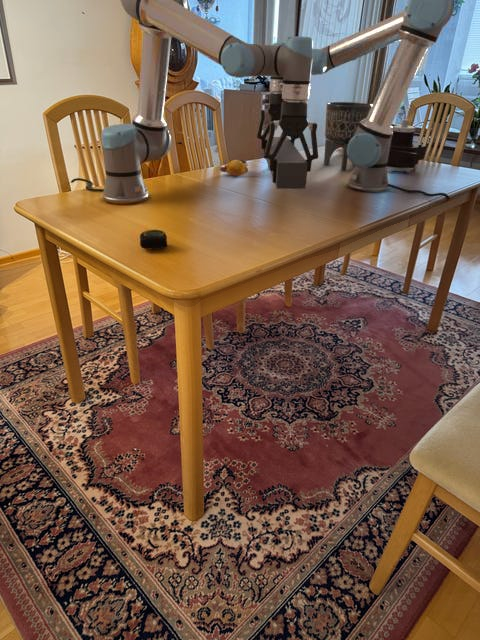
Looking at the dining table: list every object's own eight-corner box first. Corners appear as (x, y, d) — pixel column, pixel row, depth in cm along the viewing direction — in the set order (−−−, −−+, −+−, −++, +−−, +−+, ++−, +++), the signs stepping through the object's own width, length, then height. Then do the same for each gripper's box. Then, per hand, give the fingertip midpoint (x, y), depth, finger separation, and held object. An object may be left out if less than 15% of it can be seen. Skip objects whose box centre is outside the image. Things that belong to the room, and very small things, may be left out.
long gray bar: (264, 156, 180) (265, 136, 176) (286, 156, 180) (287, 137, 176) (276, 188, 135) (278, 162, 131) (305, 188, 135) (307, 162, 131)
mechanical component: (372, 119, 196) (401, 114, 216) (364, 169, 206) (392, 160, 226) (421, 124, 184) (447, 118, 203) (410, 177, 194) (436, 167, 214)
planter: (313, 167, 208) (319, 103, 195) (331, 160, 222) (338, 101, 209) (353, 173, 199) (362, 107, 185) (369, 166, 213) (379, 104, 199)
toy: (217, 168, 186) (223, 160, 199) (223, 183, 189) (228, 174, 202) (243, 159, 183) (247, 151, 195) (248, 175, 186) (252, 166, 198)
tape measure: (140, 252, 115) (139, 238, 113) (141, 242, 120) (140, 229, 119) (167, 251, 116) (166, 237, 114) (167, 241, 121) (166, 228, 120)
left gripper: (258, 101, 124) (255, 184, 136) (335, 102, 125) (325, 185, 136) (256, 99, 131) (253, 178, 142) (330, 100, 131) (321, 179, 143)
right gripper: (251, 93, 160) (250, 160, 171) (311, 93, 161) (306, 159, 172) (249, 91, 166) (248, 156, 178) (307, 92, 167) (303, 156, 178)
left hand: (289, 182), depth 139 cm, fingers closed on long gray bar, 9 cm apart
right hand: (277, 157), depth 175 cm, fingers closed on long gray bar, 9 cm apart
